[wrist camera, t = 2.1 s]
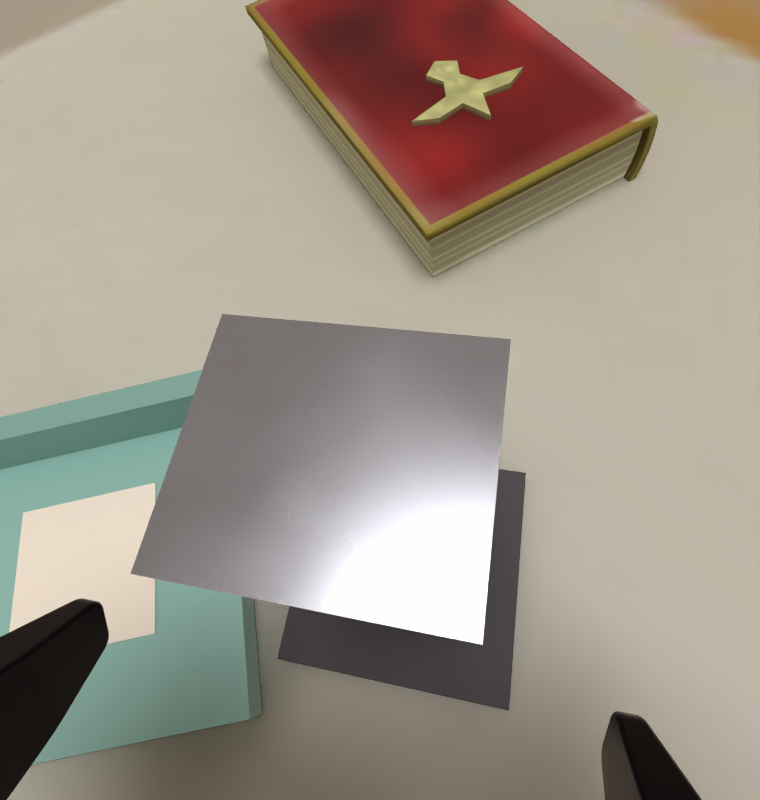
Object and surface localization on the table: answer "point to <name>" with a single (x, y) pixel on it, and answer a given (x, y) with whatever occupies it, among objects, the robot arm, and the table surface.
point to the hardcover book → (455, 114)
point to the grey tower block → (338, 473)
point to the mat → (420, 652)
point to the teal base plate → (117, 569)
